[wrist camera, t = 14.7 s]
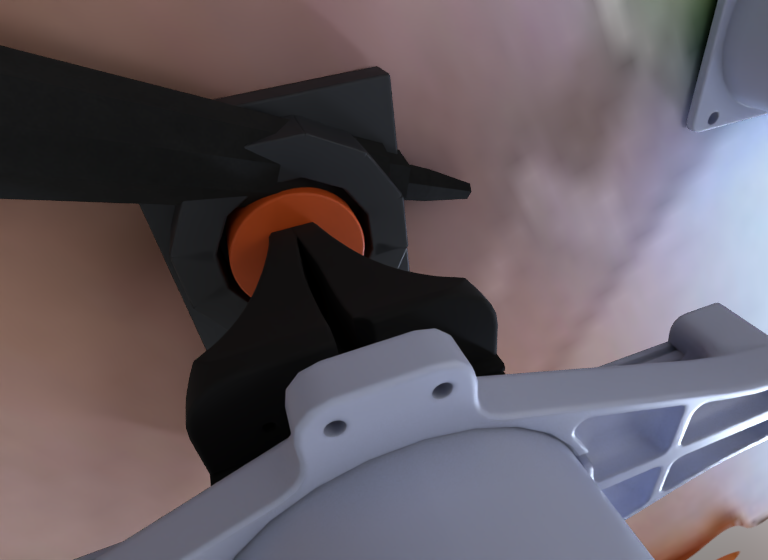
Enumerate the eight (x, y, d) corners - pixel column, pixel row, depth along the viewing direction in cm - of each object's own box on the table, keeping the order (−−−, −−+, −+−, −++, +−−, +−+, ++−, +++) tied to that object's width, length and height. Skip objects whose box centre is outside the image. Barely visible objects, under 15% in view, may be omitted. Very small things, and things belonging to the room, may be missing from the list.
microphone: (432, 115, 20) (-400, -83, 9) (541, 111, 15) (-900, -298, 5) (411, 247, 21) (-352, 202, 11) (506, 282, 16) (-708, 263, 6)
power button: (339, 156, 15) (354, 177, 14) (358, 263, 17) (373, 290, 16) (207, 187, 14) (210, 213, 13) (245, 295, 17) (251, 326, 15)
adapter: (377, 65, 15) (413, 87, 13) (415, 397, 25) (439, 445, 23) (110, 119, 14) (95, 155, 11) (259, 452, 23) (268, 509, 21)
